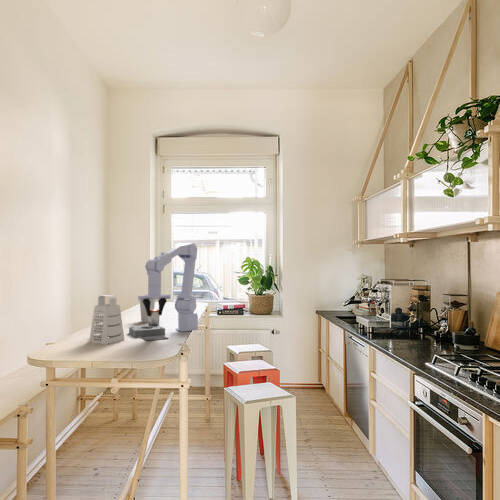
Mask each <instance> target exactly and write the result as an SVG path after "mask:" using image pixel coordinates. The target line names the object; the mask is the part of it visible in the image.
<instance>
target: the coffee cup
mask: <svg viewBox="0 0 500 500" xmlns="http://www.w3.org/2000/svg"><path fill="white" fill-rule="evenodd" d="M143 295H144V294H140V295H139V296H143ZM148 299H150V298H148ZM150 302H151V303H150V310H151V309H155V306H156V305H155V304H156V299H155V300H150ZM139 308H140V321H141V323H149V316H147V312H146V308H145V306H144V304H143V301H142V300H139Z"/></svg>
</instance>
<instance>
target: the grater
mask: <svg viewBox="0 0 500 500" xmlns="http://www.w3.org/2000/svg"><path fill="white" fill-rule="evenodd" d="M106 297H108V299H109V303H106ZM121 312H122V311H121V305H120V304H117V296H116V295H112V294H111V295H110V294H104V295H103V294H102V295H99V296H98V300H97V305H94V308H93V316H92V321H91V322H92V323H91V328H90V334H89V340H88V342H89V343H93V342H94V343H95V344H99V343H101V345H105V344H106V345H109V344H108V343H110V344H113V343H112V342H115V343H118V342H117V341H119V342H124V341H125V333H124V328H123V327H124V326H123V320H122V313H121ZM108 337H109V338H108ZM100 339H101V340H100ZM123 340H124V341H123ZM94 343H93V344H94Z"/></svg>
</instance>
